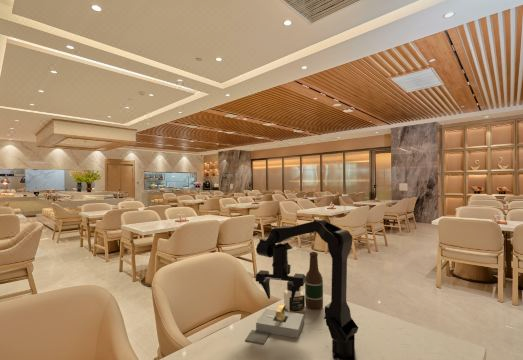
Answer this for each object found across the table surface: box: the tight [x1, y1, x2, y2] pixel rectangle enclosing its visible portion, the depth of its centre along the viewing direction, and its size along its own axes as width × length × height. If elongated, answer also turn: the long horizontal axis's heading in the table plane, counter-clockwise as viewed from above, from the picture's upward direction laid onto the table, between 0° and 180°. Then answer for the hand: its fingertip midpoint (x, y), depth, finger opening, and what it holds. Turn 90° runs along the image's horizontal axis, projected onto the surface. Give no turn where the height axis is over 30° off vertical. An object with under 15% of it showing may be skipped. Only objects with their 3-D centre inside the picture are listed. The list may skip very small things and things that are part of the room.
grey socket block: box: [255, 308, 305, 339], centre depth 108 cm, size 16×12×3 cm
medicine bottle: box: [283, 281, 306, 313], centre depth 122 cm, size 7×7×12 cm
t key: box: [275, 303, 286, 322], centre depth 108 cm, size 3×7×7 cm, turn 162°
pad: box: [244, 329, 271, 345], centre depth 100 cm, size 7×7×1 cm
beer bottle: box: [304, 251, 324, 311], centre depth 124 cm, size 8×8×24 cm
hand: (280, 300), depth 108 cm, fingers open, 9 cm apart
